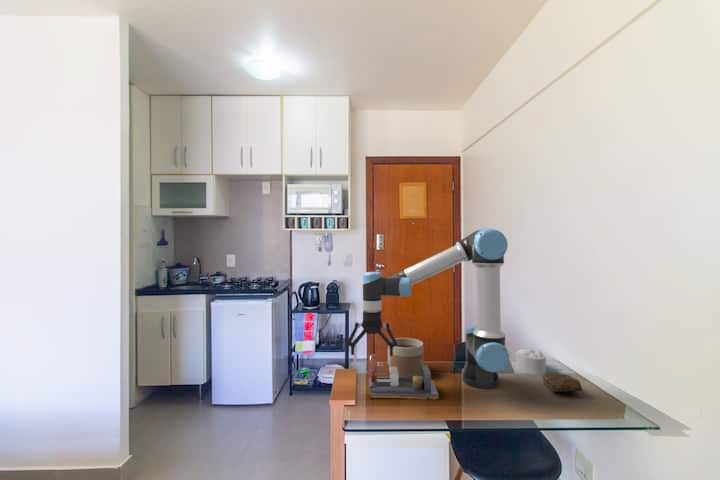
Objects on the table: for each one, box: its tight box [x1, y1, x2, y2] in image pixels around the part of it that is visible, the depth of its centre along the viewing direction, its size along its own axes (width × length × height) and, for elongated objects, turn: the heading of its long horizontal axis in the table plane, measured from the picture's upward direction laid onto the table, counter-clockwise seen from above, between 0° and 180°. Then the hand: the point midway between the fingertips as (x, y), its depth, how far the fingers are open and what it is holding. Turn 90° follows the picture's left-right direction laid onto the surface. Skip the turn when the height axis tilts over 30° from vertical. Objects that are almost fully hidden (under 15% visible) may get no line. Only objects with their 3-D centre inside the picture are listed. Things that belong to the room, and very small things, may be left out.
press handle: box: [368, 353, 398, 388], centre depth 133 cm, size 12×8×12 cm
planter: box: [387, 337, 424, 379], centre depth 153 cm, size 16×16×14 cm
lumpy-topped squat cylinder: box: [515, 348, 547, 376], centre depth 155 cm, size 10×13×9 cm
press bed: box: [369, 364, 440, 399], centre depth 133 cm, size 26×13×9 cm, turn 87°
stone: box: [541, 372, 583, 393], centre depth 133 cm, size 10×14×6 cm
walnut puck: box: [412, 376, 423, 389], centre depth 132 cm, size 4×4×4 cm
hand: (371, 363), depth 133 cm, fingers open, 13 cm apart
